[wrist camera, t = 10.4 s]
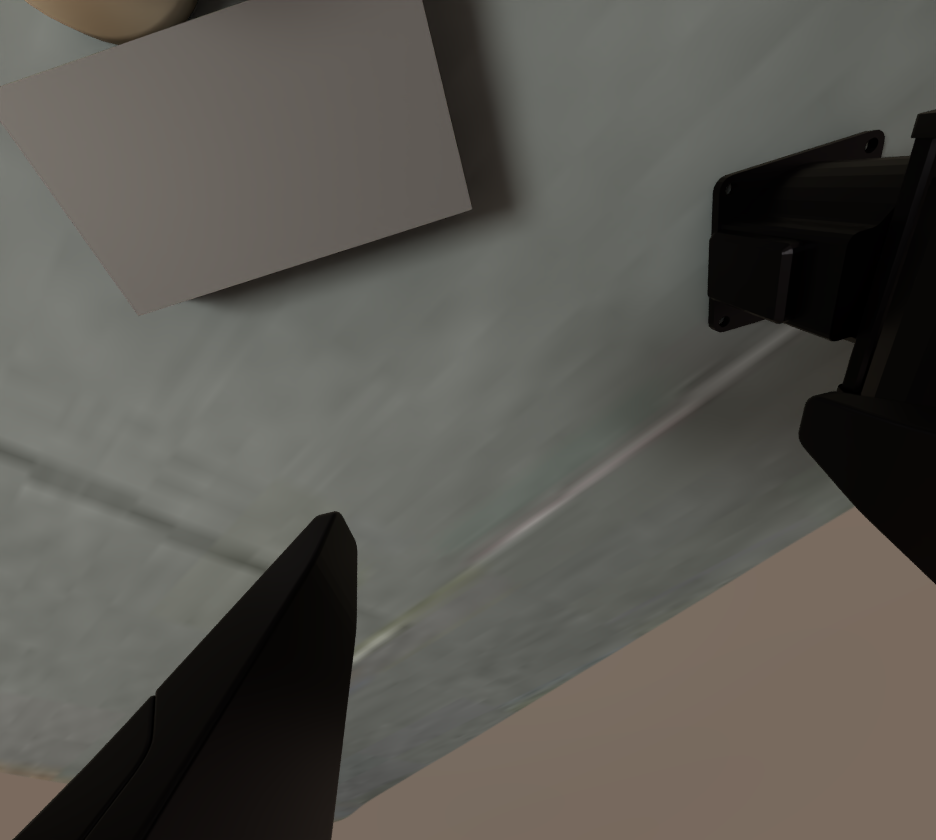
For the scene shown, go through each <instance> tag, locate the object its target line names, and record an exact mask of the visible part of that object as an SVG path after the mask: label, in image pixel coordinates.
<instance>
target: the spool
mask: <svg viewBox="0 0 936 840" xmlns="http://www.w3.org/2000/svg"><path fill="white" fill-rule="evenodd" d="M25 1H26V2H27V3H28V4H30V5H31V6H33V7H35V8H36V9H38V10H39V11H41V12H42V13H44V14H45V15H47V16H49V17H51V18H53V19H55V20H57V21H59V22H60V23H62V24H64V25H67V26H69V27H71V28H73V29H75V30H77V31H80V32H82V33H84V34H86V35H88V36H91V37H94V38H96V39H99V40H101V41H105V42H109V43H113V44H117V45H121V44H124V43H127V42H129V41H132V40H135V39H138V38H141V37H144V36H147V35H150V34H152V33H155V32H158V31H161V30H164V29H167V28H170V27H173V26H175V25H178V24H181V23H184V22H186V21H187V19H188V18H189V16H190V15H191V13H192V12H193V10H194V8H195V6H196V4H197V1H198V0H25Z"/></svg>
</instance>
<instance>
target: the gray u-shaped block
mask: <svg viewBox="0 0 936 840" xmlns="http://www.w3.org/2000/svg"><path fill="white" fill-rule="evenodd" d="M0 121H1V123H2V124H3V126H4V127H5V128H6V130H7V131H8V133H9V134H10V136H11V137H12V138H13V140H14V141H15V143H16V144H17V145H18V147H19V148H20V150H21V151H22V152H23V154H24V155H25V157H26V158H27V159H28V161H29V162H30V164H31V165H32V167H33V168H34V169H35V171H36V172H37V174H38V175H39V176H40V178H41V179H42V181H43V182H44V183H45V185H46V186H47V188H48V189H49V190H50V192H51V193H52V195H53V196H54V197H55V199H56V200H57V202H58V203H59V205H60V206H61V207H62V209H63V210H64V212H65V213H66V214H67V216H68V217H69V219H70V220H71V221H72V223H73V224H74V226H75V227H76V228H77V230H78V231H79V233H80V234H81V236H82V237H83V238H84V240H85V241H86V243H87V244H88V245H89V247H90V248H91V250H92V251H93V252H94V254H95V255H96V257H97V258H98V259H99V261H100V262H101V264H102V265H103V266H104V268H105V269H106V271H107V272H108V274H109V275H110V276H111V278H112V279H113V281H114V282H115V283H116V285H117V286H118V288H119V289H120V290H121V292H122V293H123V295H124V296H125V297H126V299H127V300H128V302H129V303H130V305H131V306H132V307H133V309H134V310H135V312H136V313H137V314H138V316H140V315H143V314H146V313H149V312H153V311H156V310H159V309H162V308H165V307H168V306H171V305H174V304H178V303H181V302H184V301H187V300H190V299H193V298H196V297H199V296H203V295H206V294H209V293H212V292H215V291H218V290H221V289H225V288H228V287H231V286H234V285H237V284H240V283H243V282H246V281H250V280H253V279H256V278H259V277H262V276H265V275H268V274H272V273H275V272H278V271H281V270H284V269H287V268H290V267H293V266H297V265H300V264H303V263H306V262H309V261H312V260H315V259H318V258H322V257H325V256H328V255H331V254H334V253H337V252H340V251H344V250H347V249H350V248H353V247H356V246H359V245H362V244H365V243H369V242H372V241H375V240H378V239H381V238H384V237H387V236H391V235H394V234H397V233H400V232H403V231H406V230H409V229H412V228H416V227H419V226H422V225H425V224H428V223H431V222H434V221H437V220H441V219H444V218H447V217H450V216H453V215H456V214H459V213H463V212H466V211H469V210H472V206H471V202H470V198H469V193H468V189H467V185H466V181H465V177H464V173H463V168H462V164H461V160H460V156H459V152H458V148H457V143H456V139H455V135H454V131H453V127H452V123H451V119H450V114H449V110H448V106H447V102H446V98H445V94H444V89H443V85H442V81H441V77H440V73H439V69H438V64H437V60H436V56H435V52H434V48H433V44H432V39H431V35H430V31H429V27H428V23H427V19H426V14H425V10H424V6H423V2H422V0H247V1H245V2H242V3H239V4H236V5H233V6H230V7H227V8H224V9H222V10H219V11H216V12H213V13H210V14H207V15H204V16H201V17H198V18H196V19H193V20H190V21H187V22H184V23H181V24H178V25H175V26H173V27H170V28H167V29H164V30H161V31H158V32H155V33H152V34H150V35H147V36H144V37H141V38H138V39H135V40H132V41H129V42H127V43H124V44H121V45H118V46H115V47H112V48H109V49H106V50H103V51H101V52H98V53H95V54H92V55H89V56H86V57H83V58H80V59H78V60H75V61H72V62H69V63H66V64H63V65H60V66H57V67H55V68H52V69H49V70H46V71H43V72H40V73H37V74H34V75H32V76H29V77H26V78H23V79H20V80H17V81H14V82H11V83H9V84H6V85H3V86H0Z"/></svg>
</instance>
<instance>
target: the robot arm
mask: <svg viewBox="0 0 936 840" xmlns="http://www.w3.org/2000/svg"><path fill="white" fill-rule="evenodd" d="M911 138H916V139H915V142H914V145H913V149H912V152H911V155H910V156H899V157H884V158H881V155H882V150H883V146H884V140H885V136H884V133H883V132H882V131H881V130H872V131H864V132H861V133H858V134H855V135H852V136H849V137H845V138H842V139H839V140H836V141H833V142H830V143H826V144H823V145H820V146H817V147H814V148H810V149H807V150H804V151H801V152H798V153H795V154H791V155H788V156H785V157H782V158H779V159H776V160H772V161H769V162H766V163H763V164H760V165H756V166H753V167H750V168H747V169H744V170H741V171H737V172H734V173H731V174H728V175H725V176H723V177H721V178H720V179H719V180H718V181H717V183H716V185H715V187H714V190H713V204H712V232H711V238H710V240H709V265H708V296H709V317H708V323H709V327H710V328H711V329H713V330H715V331H718V332H725V331H728V330H731V329H735V328H738V327H741V326H745V325H748V324H751V323H755V322H758V321H761V320H765V319H766V320H768V321H771V322H774V323H776V324H781V323H784V324H787V325H790V326H792V327H795V328H798V329H800V330H803V331H806V332H809V333H811V334H814V335H817V336H819V337H822V338H825V339H828V340H830V341H838V340H842V339H844V340H847V341H850V342H853V343H855V344H854V347H853V350H852V354H851V357H850V360H849V364H848V367H847V370H846V374H845V377H844V381H843V384H840V385H839V386H838V388H837V391H834V392H828V393H823V394H819V395H815V396H812V397H811V398H809V399H808V400H807V402H806V404H805V407H804V411H803V416H802V420H801V424H800V428H799V440H800V442H801V444H802V446H803V447H804V448H805V450H806V451H807V452H808V453H809V454H810V455H811V456H812V458H813V459H814V460H815V461H816V462H817V463H818V465H819V466H820V467H821V468H822V469H823V470H824V471H825V473H826V474H827V475H828V476H829V477H830V478H831V479H832V481H833V482H834V483H835V484H836V485H837V486H838V488H839V489H840V490H841V491H842V492H843V493H844V494H845V496H846V497H847V498H848V499H849V500H850V501H851V502H852V503H853V505H854V506H855V507H856V508H857V509H858V510H859V511H860V512H861V513H862V514H863V515H864V516H865V517H866V518H867V519H868V520H869V521H870V522H871V523H872V524H873V525H874V526H875V527H876V528H877V529H878V530H879V531H880V532H881V533H882V534H883V535H885V536H886V537H887V538H888V539H889V540H890V541H891V542H892V543H893V544H894V545H895V546H896V547H897V548H898V549H899V550H900V551H901V552H902V553H903V554H905V556H907V557H908V558H909V559H910V560H911V561H912V562H913V563H914V564H915V565H916V566H917V567H918V568H919V569H920V570H921V571H922V572H923V573H924V574H925V575H926V576H928V577H929V578H930V579H931V580H932V581H933V582H934V583H935V584H936V109H935V110H931V111H927V112H923V113H919V114H918V115H917V118H916V122H915V125H914V128H913V132H912V135H911ZM867 142H868V146H867V149H866V150H865V146H866V143H867ZM728 184H731V191H730V192H729V194H728V195H726V192H725V191H726V187H727V186H728ZM722 317H724V320H723V321H722V323H720V324H719V321H720V319H721V318H722ZM356 623H357V545H356V542H355V539H354V537H353V535H352V533H351V531H350V529H349V528H348V526H347V524H346V522H345V520H344V518H343V516H342V515H341V514H340V513H339V512H336V511H334V512H330V513H326V514H321V515H318V516H316V517H315V518H314V519H313V520H312V521H311V522H310V524H309V525H308V526H307V527H306V528H305V529H304V530H303V531H302V532H301V533H300V534H299V536H298V537H297V538H296V539H295V540H294V541H293V542H292V543H291V544H290V545H289V546H288V547H287V549H286V550H285V551H284V552H283V553H282V554H281V555H280V556H279V557H278V558H277V559H276V561H275V562H274V563H273V564H272V565H271V566H270V567H269V568H268V569H267V570H266V571H265V573H264V574H263V575H262V576H261V577H260V578H259V579H258V580H257V581H256V582H255V583H254V585H253V586H252V587H251V588H250V589H249V590H248V591H247V592H246V593H245V594H244V595H243V597H242V598H241V599H240V600H239V601H238V602H237V603H236V604H235V605H234V606H233V607H232V609H231V610H230V611H229V612H228V613H227V614H226V615H225V616H224V617H223V618H222V619H221V620H220V622H219V623H218V624H217V625H216V626H215V627H214V628H213V629H212V630H211V631H210V632H209V634H208V635H207V636H206V637H205V638H204V639H203V640H202V641H201V642H200V643H199V644H198V646H197V647H196V648H195V649H194V650H193V651H192V652H191V653H190V654H189V655H188V656H187V657H186V659H185V660H184V661H183V662H182V663H181V664H180V665H179V666H178V667H177V668H176V669H175V671H174V672H173V673H172V674H171V675H170V676H169V677H168V678H167V679H166V680H165V681H164V683H163V684H162V685H161V686H160V687H159V688H158V689H157V690H156V694H155V695H154V696H151V697H150V698H149V699H148V700H147V701H146V702H145V703H144V704H143V705H142V706H141V707H140V709H139V710H138V711H137V712H136V713H135V714H134V715H133V716H132V717H131V718H130V719H129V721H128V722H127V723H126V724H125V725H124V726H123V727H122V728H121V729H120V730H119V731H118V732H117V733H116V734H115V735H114V736H113V738H112V739H111V740H110V741H109V742H108V743H107V744H106V745H105V746H104V747H103V748H102V749H101V750H100V751H99V752H98V753H97V755H96V756H95V757H94V758H93V759H92V760H91V761H90V762H89V763H88V764H87V765H86V766H85V767H84V768H83V769H82V770H81V771H80V772H79V773H78V774H77V775H76V776H75V777H74V778H73V779H72V780H71V781H70V782H69V783H68V784H67V785H66V787H65V788H64V789H63V790H62V791H61V792H60V793H59V794H58V795H57V796H56V797H55V798H54V799H53V800H52V801H51V802H50V803H49V804H48V805H47V806H46V807H45V808H44V809H43V810H42V811H41V812H40V813H39V814H38V815H37V816H36V817H35V818H34V819H33V820H32V821H31V822H30V823H29V824H28V825H27V826H26V827H25V828H24V829H23V830H22V831H21V832H20V833H19V834H18V835H17V836H16V837H15V838H14V839H13V840H331V837H332V829H333V821H334V812H335V804H336V796H337V787H338V779H339V771H340V762H341V754H342V746H343V737H344V729H345V721H346V712H347V704H348V696H349V688H350V679H351V671H352V663H353V654H354V646H355V637H356Z"/></svg>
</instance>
